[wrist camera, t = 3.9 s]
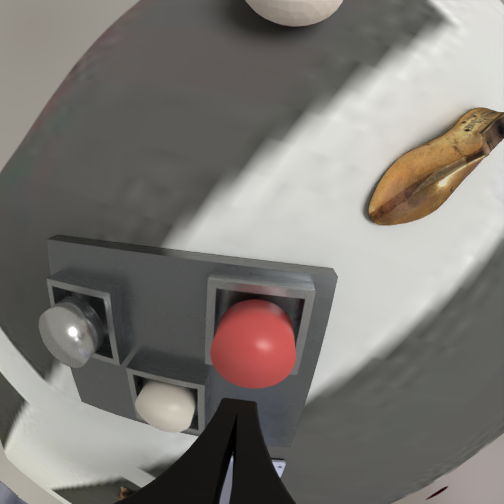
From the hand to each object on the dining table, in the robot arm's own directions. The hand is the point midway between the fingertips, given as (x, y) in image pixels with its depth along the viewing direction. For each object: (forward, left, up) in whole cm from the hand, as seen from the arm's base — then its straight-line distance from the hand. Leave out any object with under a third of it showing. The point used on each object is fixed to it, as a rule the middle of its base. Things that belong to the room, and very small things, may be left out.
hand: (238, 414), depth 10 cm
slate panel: (-5, +6, -10) cm, 12 cm away
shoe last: (+12, -12, -10) cm, 19 cm away
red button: (0, 0, -6) cm, 6 cm away
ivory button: (-8, +6, -8) cm, 12 cm away
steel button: (-2, +12, -6) cm, 14 cm away
